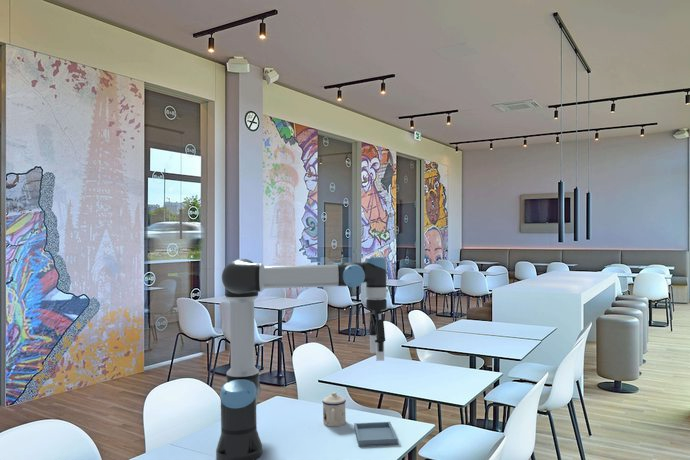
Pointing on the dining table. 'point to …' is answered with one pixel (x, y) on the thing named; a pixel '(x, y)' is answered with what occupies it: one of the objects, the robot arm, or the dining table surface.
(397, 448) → the dining table surface
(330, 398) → the teacup with lid
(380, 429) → the slate tray
